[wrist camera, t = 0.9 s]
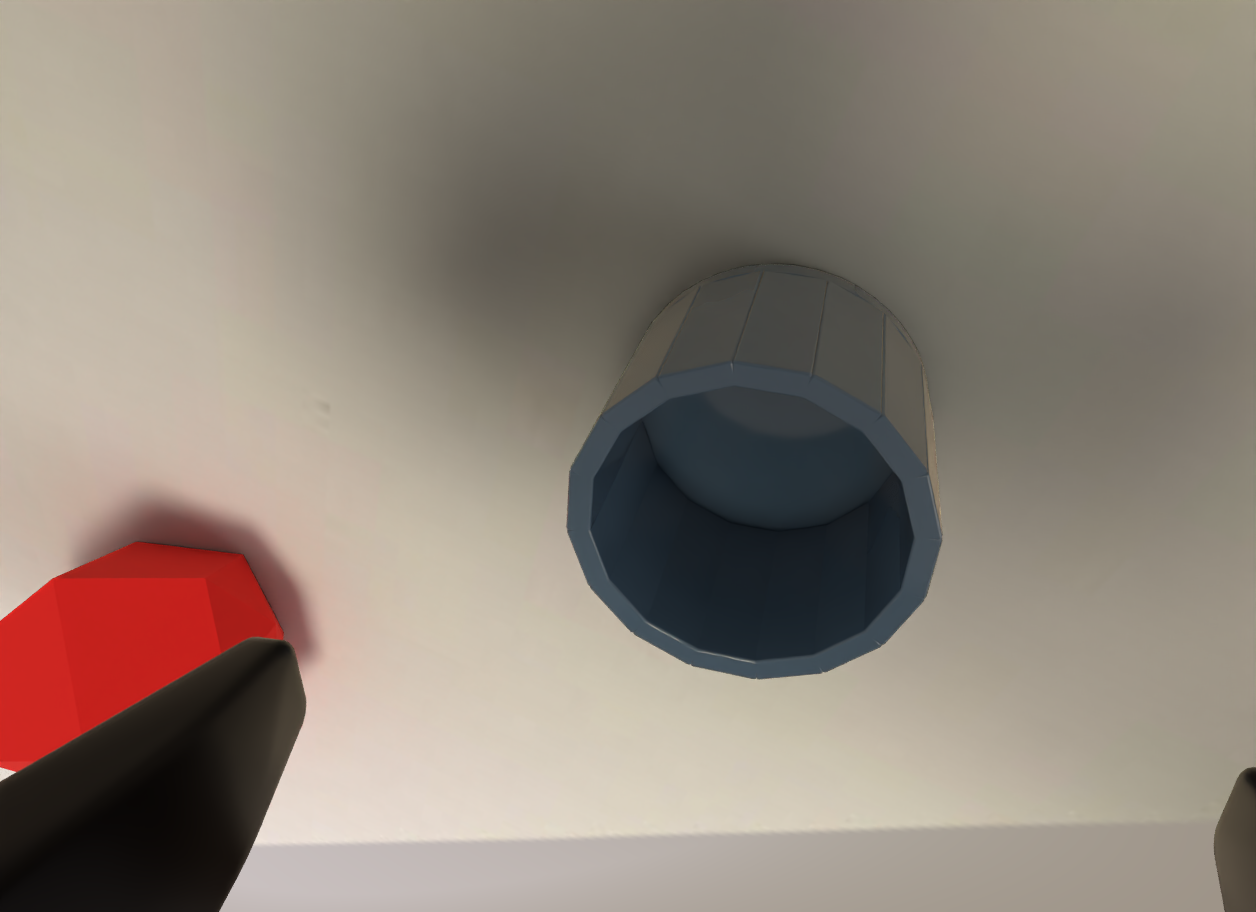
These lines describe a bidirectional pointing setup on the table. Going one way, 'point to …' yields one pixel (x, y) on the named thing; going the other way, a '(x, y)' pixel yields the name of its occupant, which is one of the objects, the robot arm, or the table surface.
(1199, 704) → the table surface
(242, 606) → the apple
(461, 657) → the table surface
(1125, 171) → the table surface
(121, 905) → the robot arm
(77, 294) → the table surface
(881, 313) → the enamel cup
